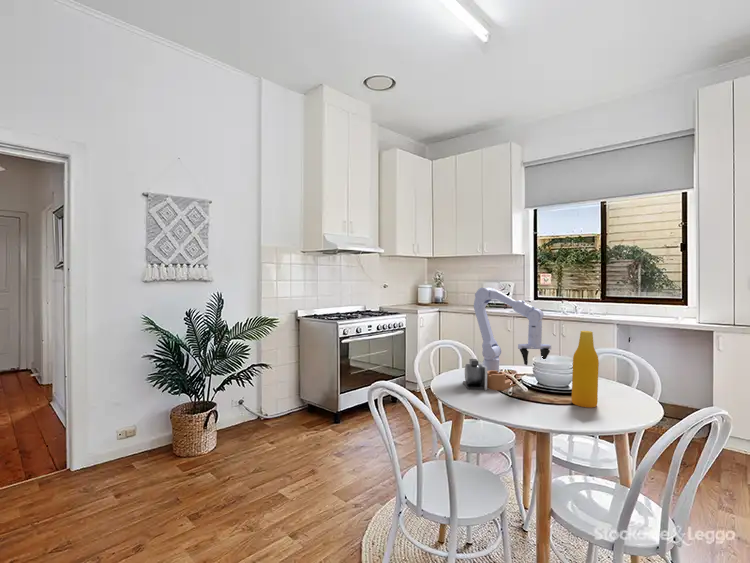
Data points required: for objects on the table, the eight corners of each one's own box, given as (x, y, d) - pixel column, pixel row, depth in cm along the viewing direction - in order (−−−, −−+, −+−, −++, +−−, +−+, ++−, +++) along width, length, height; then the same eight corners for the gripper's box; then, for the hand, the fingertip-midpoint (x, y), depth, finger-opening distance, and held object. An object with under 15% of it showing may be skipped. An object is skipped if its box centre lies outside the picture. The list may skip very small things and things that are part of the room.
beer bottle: (566, 401, 168) (568, 330, 167) (584, 399, 171) (586, 329, 170) (583, 409, 160) (586, 333, 158) (602, 406, 162) (605, 332, 161)
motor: (462, 382, 194) (463, 356, 193) (479, 382, 194) (480, 357, 194) (468, 390, 182) (469, 363, 181) (486, 390, 182) (487, 363, 182)
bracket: (499, 391, 181) (499, 376, 181) (482, 387, 187) (482, 372, 187) (519, 384, 193) (519, 369, 193) (502, 380, 199) (503, 366, 199)
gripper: (522, 336, 186) (521, 366, 187) (554, 336, 186) (553, 366, 187) (516, 333, 193) (516, 362, 194) (547, 334, 194) (547, 363, 194)
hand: (534, 364), depth 191 cm, fingers open, 7 cm apart
